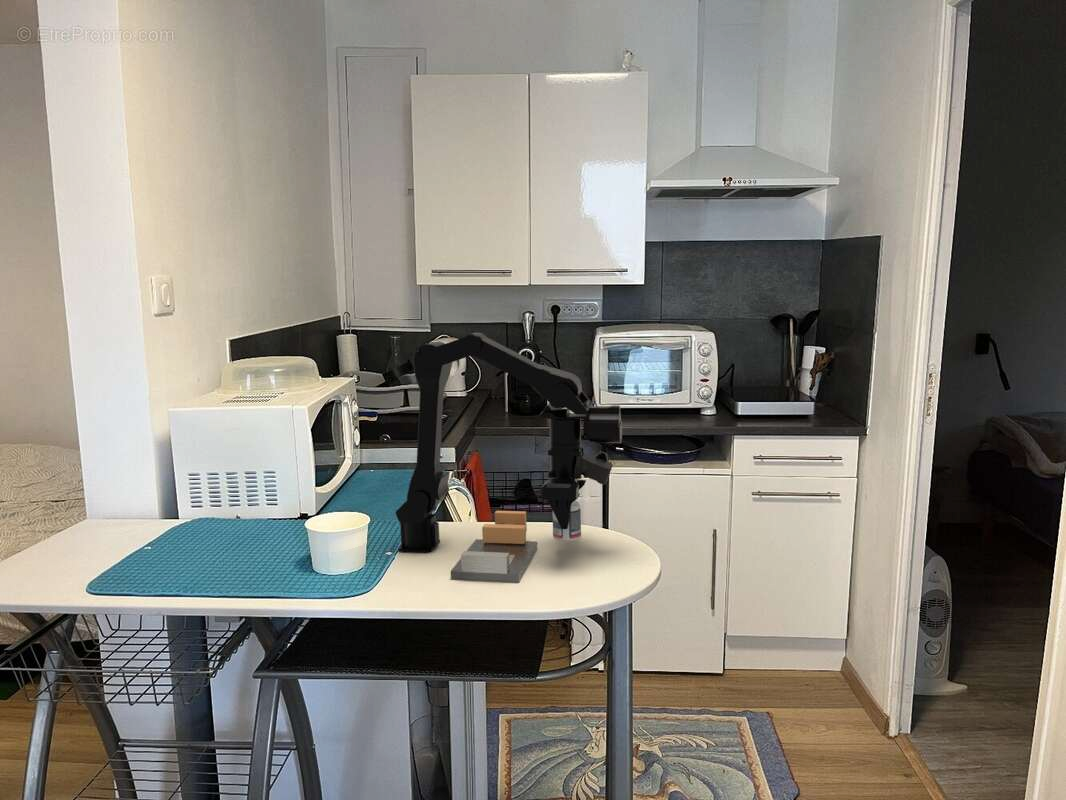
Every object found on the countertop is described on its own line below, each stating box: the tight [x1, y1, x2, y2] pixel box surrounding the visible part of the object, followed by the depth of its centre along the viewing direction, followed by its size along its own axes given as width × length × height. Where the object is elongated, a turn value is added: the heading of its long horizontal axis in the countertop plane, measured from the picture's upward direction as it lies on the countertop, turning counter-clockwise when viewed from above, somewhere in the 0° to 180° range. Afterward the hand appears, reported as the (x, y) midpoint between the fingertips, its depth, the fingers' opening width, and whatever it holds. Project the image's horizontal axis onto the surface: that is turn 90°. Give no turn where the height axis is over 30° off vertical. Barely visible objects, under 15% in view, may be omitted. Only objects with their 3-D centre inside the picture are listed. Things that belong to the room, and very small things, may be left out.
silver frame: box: [450, 538, 538, 584], centre depth 144 cm, size 12×17×4 cm
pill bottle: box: [551, 499, 582, 543], centre depth 147 cm, size 5×5×9 cm
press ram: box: [481, 510, 528, 544], centre depth 153 cm, size 8×8×4 cm
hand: (566, 524), depth 148 cm, fingers closed on pill bottle, 5 cm apart
